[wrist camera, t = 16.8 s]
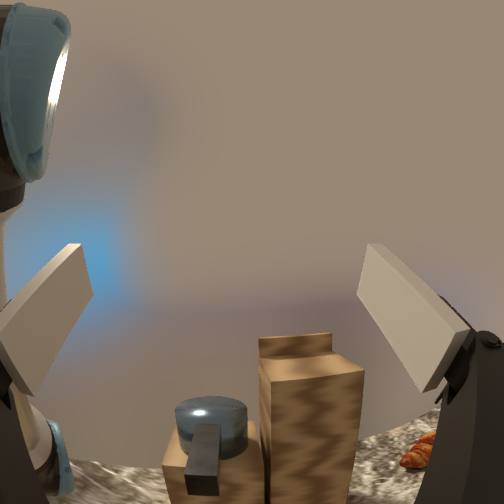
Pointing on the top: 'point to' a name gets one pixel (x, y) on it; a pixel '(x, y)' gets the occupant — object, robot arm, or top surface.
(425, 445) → the croissant
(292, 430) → the pine stand
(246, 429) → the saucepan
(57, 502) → the top surface
